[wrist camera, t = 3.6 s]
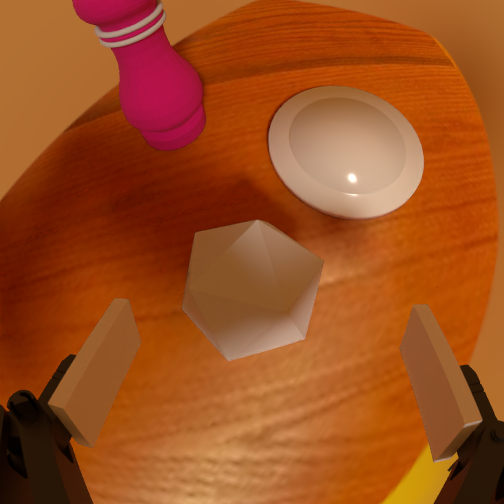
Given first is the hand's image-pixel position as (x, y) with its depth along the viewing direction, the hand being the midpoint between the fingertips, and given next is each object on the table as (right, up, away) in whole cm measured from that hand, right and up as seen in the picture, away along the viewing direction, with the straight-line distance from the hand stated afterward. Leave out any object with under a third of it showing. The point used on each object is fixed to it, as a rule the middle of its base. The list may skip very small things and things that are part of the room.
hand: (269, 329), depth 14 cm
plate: (+8, +13, +13) cm, 19 cm away
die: (-1, 0, +10) cm, 10 cm away
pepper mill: (-8, +15, +15) cm, 23 cm away
